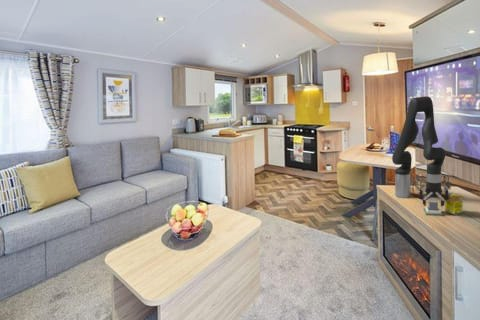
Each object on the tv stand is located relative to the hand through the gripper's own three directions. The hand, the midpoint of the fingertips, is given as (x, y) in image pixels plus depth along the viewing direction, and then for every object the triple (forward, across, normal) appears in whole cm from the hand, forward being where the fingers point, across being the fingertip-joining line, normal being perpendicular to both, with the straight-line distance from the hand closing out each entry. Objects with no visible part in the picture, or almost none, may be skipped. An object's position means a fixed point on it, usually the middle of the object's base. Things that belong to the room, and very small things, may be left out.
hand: (433, 205), depth 163 cm
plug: (+4, 0, 0) cm, 4 cm away
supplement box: (+5, -10, -2) cm, 12 cm away
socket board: (+5, 0, 0) cm, 5 cm away
